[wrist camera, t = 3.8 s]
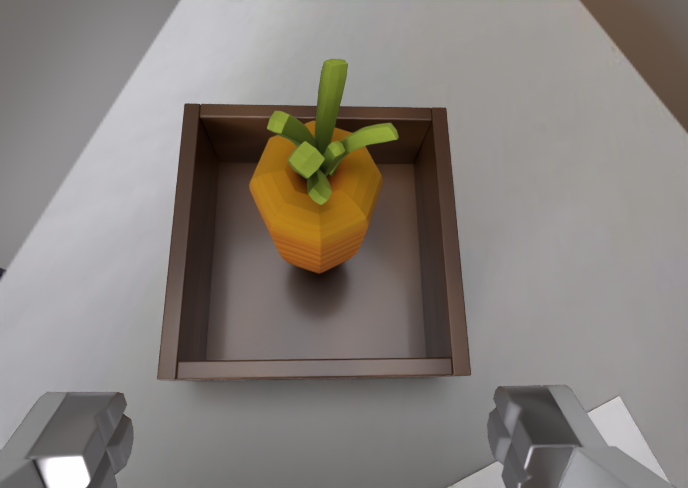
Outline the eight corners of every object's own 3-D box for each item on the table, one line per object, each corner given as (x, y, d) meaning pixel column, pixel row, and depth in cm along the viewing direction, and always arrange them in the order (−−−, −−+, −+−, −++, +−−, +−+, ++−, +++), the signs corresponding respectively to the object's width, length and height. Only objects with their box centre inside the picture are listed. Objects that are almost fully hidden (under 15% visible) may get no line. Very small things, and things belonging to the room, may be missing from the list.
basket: (192, 381, 25) (156, 380, 19) (210, 156, 29) (184, 102, 23) (438, 377, 26) (471, 375, 20) (422, 158, 30) (446, 107, 24)
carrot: (314, 200, 27) (309, 2, 13) (377, 253, 27) (445, 103, 12) (256, 260, 26) (181, 111, 12) (320, 317, 25) (323, 232, 11)
